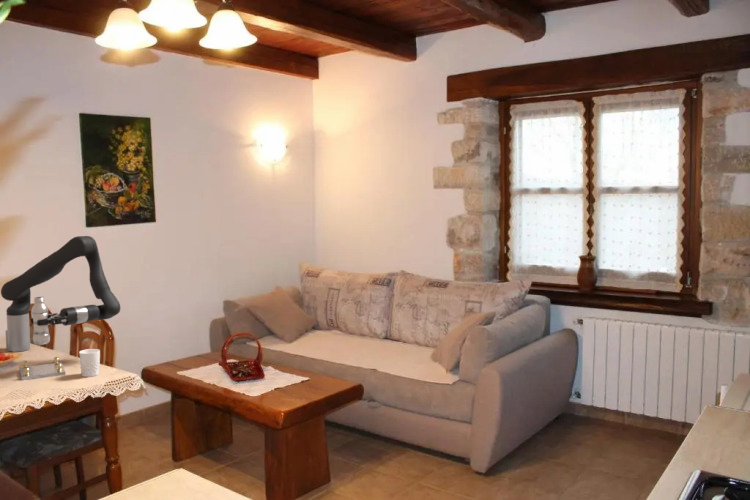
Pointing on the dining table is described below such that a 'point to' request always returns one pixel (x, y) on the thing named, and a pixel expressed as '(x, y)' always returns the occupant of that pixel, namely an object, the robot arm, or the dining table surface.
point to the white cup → (89, 362)
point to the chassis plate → (41, 370)
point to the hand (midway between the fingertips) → (34, 322)
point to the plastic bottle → (40, 313)
